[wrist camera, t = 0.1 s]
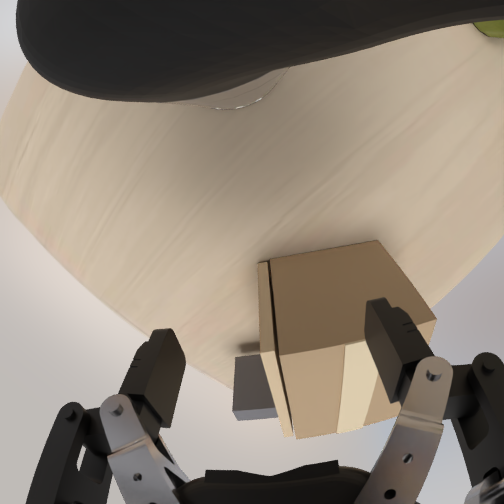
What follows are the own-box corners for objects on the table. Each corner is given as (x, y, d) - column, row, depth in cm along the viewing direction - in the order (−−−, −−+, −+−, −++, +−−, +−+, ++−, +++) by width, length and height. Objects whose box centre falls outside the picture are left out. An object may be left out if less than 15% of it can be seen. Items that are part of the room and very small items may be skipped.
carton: (269, 258, 29) (279, 357, 17) (377, 239, 28) (438, 320, 16) (287, 356, 37) (296, 441, 25) (369, 340, 35) (398, 417, 24)
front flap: (211, 271, 29) (191, 359, 19) (267, 262, 29) (274, 351, 18) (243, 364, 37) (240, 440, 26) (285, 359, 36) (293, 436, 26)
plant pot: (469, -22, 10) (509, -34, 2) (509, 35, 13) (552, 35, 5) (442, -6, 13) (488, -21, 5) (487, 59, 16) (537, 60, 9)
